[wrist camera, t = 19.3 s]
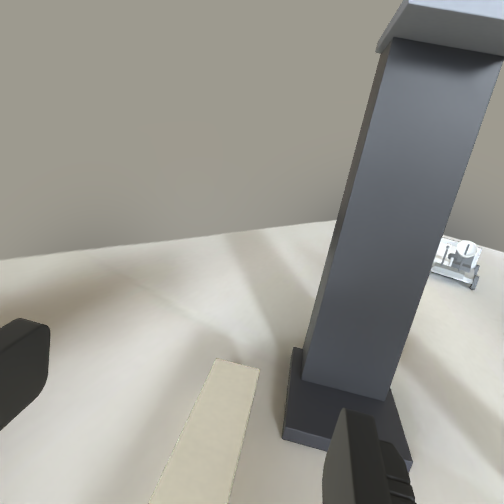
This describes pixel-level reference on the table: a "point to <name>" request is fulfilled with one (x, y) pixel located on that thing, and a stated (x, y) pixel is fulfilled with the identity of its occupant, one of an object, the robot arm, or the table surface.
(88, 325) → the table surface
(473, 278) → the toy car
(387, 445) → the robot arm
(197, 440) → the cream rectangular bar
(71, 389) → the table surface
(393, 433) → the dark grey pillar
